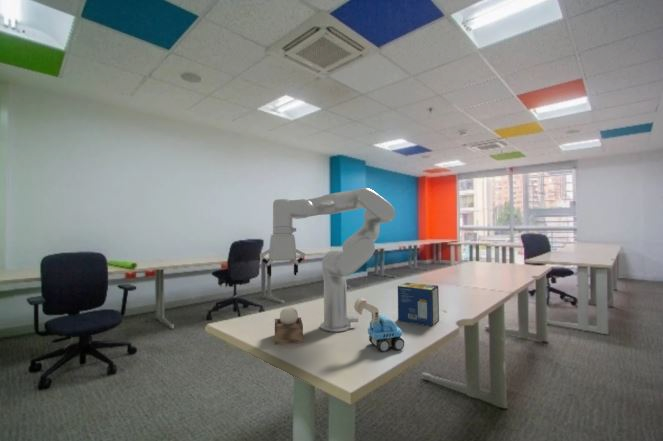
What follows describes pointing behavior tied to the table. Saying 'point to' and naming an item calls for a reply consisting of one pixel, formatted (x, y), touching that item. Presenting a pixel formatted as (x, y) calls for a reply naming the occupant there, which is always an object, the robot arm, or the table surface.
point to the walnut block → (288, 332)
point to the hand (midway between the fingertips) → (282, 275)
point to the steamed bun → (288, 316)
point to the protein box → (418, 303)
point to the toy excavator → (381, 328)
